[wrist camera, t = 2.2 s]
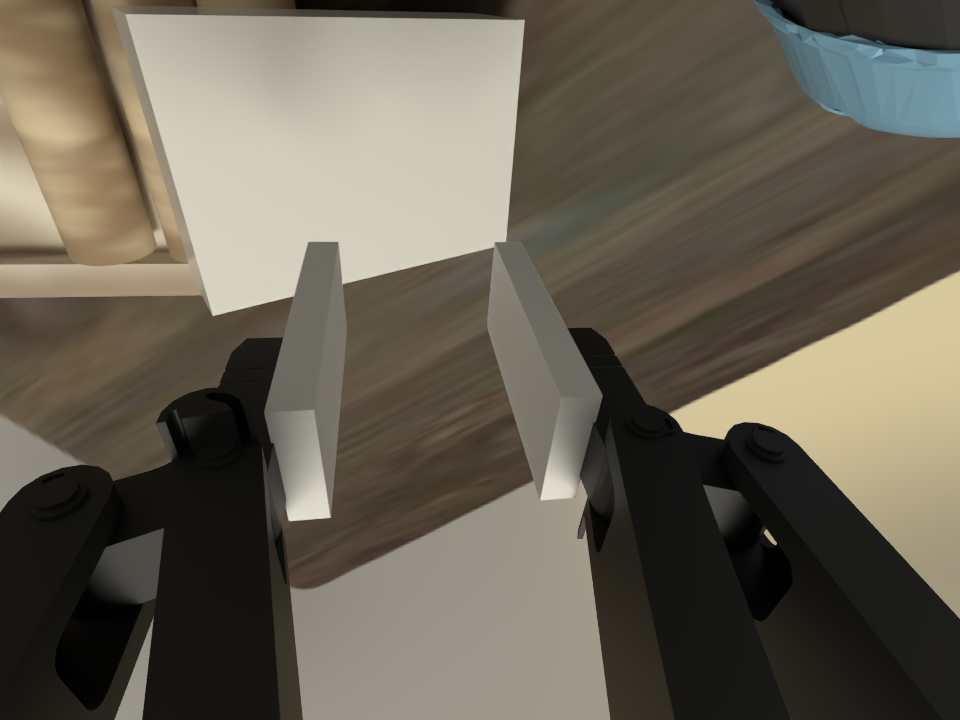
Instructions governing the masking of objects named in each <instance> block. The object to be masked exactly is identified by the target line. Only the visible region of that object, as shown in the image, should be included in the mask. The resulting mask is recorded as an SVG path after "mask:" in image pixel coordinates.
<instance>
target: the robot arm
mask: <svg viewBox="0 0 960 720" xmlns="http://www.w3.org/2000/svg"><path fill="white" fill-rule="evenodd" d="M753 2H754V4H755V5H756V7H757V8H758V10H759V11H760V13H761V14H762V15H763V16H764V17H765V18H766V19H767V20H768V21H769V22H770V23H771V25H772V28H773V30H774V32H775V34H776V36H777V39H778V41H779V43H780V45H781V47H782V50H783V52H784V54H785V57H786V59H787V62H788V64H789V67H790V69H791V72H792V74H793V75H794V77H795V79H796V81H797V82H798V84H799V85H800V87H801V88H802V89H803V90H804V92H805V93H806V94H807V95H808V96H809V97H810V98H811V99H812V100H813V101H814V102H816V103H817V104H818V105H820V106H821V107H823V108H824V109H825V110H827V111H829V112H832V113H836V114H839V115H844V116H850V117H851V118H852V119H853V120H855V121H856V122H857V123H860V124H862V125H863V126H865V127H868V128H871V129H874V130H878V131H884V132H890V133H895V134H902V135H909V136H920V137H937V138H960V0H753ZM487 328H488V332H489V335H490V338H491V342H492V345H493V348H494V351H495V355H496V358H497V361H498V364H499V368H500V371H501V374H502V378H503V381H504V384H505V387H506V391H507V394H508V397H509V400H510V404H511V407H512V410H513V413H514V417H515V420H516V423H517V427H518V430H519V433H520V436H521V440H522V443H523V446H524V449H525V453H526V456H527V459H528V463H529V466H530V469H531V472H532V476H533V479H534V482H535V485H536V489H537V492H538V495H539V499H540V500H551V499H562V498H574V497H576V494H577V490H578V487H579V483H580V479H581V480H582V483H583V485H584V488H585V490H586V493H587V495H588V498H587V501H586V504H585V508H584V511H583V515H582V518H581V522H580V525H579V529H578V537H577V539H583V536H584V533H585V529H586V533H587V541H588V549H589V557H590V565H591V572H592V580H593V588H594V595H595V603H596V611H597V619H598V627H599V634H600V642H601V650H602V658H603V665H604V673H605V681H606V688H607V696H608V704H609V711H610V720H960V619H959V618H958V617H957V616H956V614H955V613H954V612H953V611H952V610H951V609H950V608H949V607H948V606H947V605H946V604H945V603H944V602H943V600H942V599H941V598H940V597H939V596H938V595H937V594H936V593H935V592H934V591H933V590H932V588H930V586H929V585H928V584H927V583H926V582H925V581H924V580H923V579H922V578H921V577H920V576H919V575H918V573H917V572H916V571H915V570H914V569H913V568H912V567H911V566H910V565H909V564H908V563H907V561H906V560H905V559H904V558H903V557H902V556H901V555H900V554H899V553H898V552H897V551H896V550H895V549H894V547H893V546H892V545H891V544H890V543H889V542H888V541H887V540H886V539H885V538H884V537H883V536H882V535H881V533H879V531H878V530H877V529H876V528H875V527H874V526H873V525H872V524H871V523H870V522H869V520H867V518H866V517H865V516H864V515H863V514H862V513H861V512H860V511H859V510H858V509H857V508H856V507H855V505H854V504H853V503H852V502H851V501H850V500H849V499H848V498H847V497H846V496H845V495H844V493H842V491H841V490H840V489H839V488H838V487H837V486H836V485H835V484H834V483H833V482H832V481H831V479H829V477H828V476H827V475H826V474H825V473H824V472H823V471H822V470H821V469H820V468H819V467H818V465H816V463H815V462H814V461H813V460H812V459H811V458H810V457H809V456H808V455H807V454H806V453H805V451H803V449H802V448H801V447H800V446H799V445H798V444H797V443H796V442H794V441H793V440H792V439H791V438H790V437H789V436H787V435H786V434H784V433H782V432H780V431H778V430H776V429H775V428H773V427H769V426H766V425H763V424H759V423H748V422H747V423H746V422H744V423H740V424H737V425H734V426H733V427H732V428H731V429H730V430H729V431H728V433H727V435H726V437H725V439H724V440H723V439H717V438H711V437H706V436H700V435H695V434H690V433H686V432H683V431H682V429H681V427H680V425H679V424H678V422H677V421H676V420H675V419H674V418H673V417H671V416H670V415H669V414H668V413H666V412H665V411H663V410H660V409H658V408H656V407H654V406H650V405H646V403H645V401H644V400H643V398H642V397H641V395H640V393H639V392H638V390H637V388H636V387H635V385H634V384H633V382H632V380H631V379H630V377H629V376H628V374H627V372H626V371H625V369H624V367H622V364H621V363H620V361H619V359H618V358H617V356H615V353H614V351H613V350H612V348H611V346H610V345H609V343H608V342H607V340H606V339H605V338H604V337H602V336H601V335H600V334H598V333H597V332H596V331H594V330H593V329H592V328H567V327H566V325H565V323H564V321H563V319H562V317H561V315H560V314H559V312H558V310H557V308H556V306H555V304H554V302H553V300H552V298H551V297H550V295H549V293H548V291H547V289H546V287H545V285H544V283H543V281H542V280H541V278H540V276H539V274H538V272H537V270H536V268H535V266H534V264H533V263H532V261H531V259H530V257H529V255H528V253H527V251H526V249H525V247H524V245H523V244H522V242H495V243H494V255H493V266H492V277H491V288H490V299H489V310H488V321H487ZM346 335H347V326H346V315H345V305H344V294H343V284H342V273H341V262H340V252H339V242H308V244H307V248H306V252H305V256H304V260H303V264H302V268H301V271H300V275H299V279H298V283H297V287H296V291H295V295H294V299H293V302H292V306H291V310H290V314H289V318H288V322H287V326H286V329H285V333H284V337H283V338H248V339H246V340H245V341H244V342H243V343H242V344H241V345H239V346H238V347H237V348H236V349H235V350H234V351H233V352H232V353H231V355H230V358H229V361H228V363H227V366H226V368H225V370H226V371H225V372H224V374H223V376H222V379H221V381H220V385H219V387H218V388H206V389H202V390H198V391H195V392H191V393H188V394H186V395H184V396H182V397H180V398H178V399H176V400H174V401H173V402H172V403H171V404H169V405H168V406H167V407H166V408H165V409H164V410H163V411H162V412H161V414H160V416H159V418H158V420H157V422H156V424H157V427H158V429H159V432H160V435H161V437H162V440H163V442H164V445H165V447H166V450H167V452H168V455H169V457H170V460H171V462H170V463H168V464H166V465H164V466H162V467H159V468H156V469H153V470H151V471H147V472H144V473H140V474H137V475H133V476H130V477H126V478H123V479H119V480H116V481H113V480H112V478H111V476H110V474H109V473H108V472H107V471H105V470H103V469H102V468H100V467H98V466H88V465H78V466H71V467H65V468H61V469H58V470H55V471H53V472H50V473H47V474H45V475H43V476H40V477H39V478H37V479H35V480H34V481H32V482H31V483H29V484H27V485H26V486H24V487H23V488H21V490H20V491H18V492H17V494H15V496H14V497H13V498H11V500H9V501H8V503H7V504H6V505H5V507H4V508H3V509H2V511H1V512H0V720H114V719H115V717H116V714H117V711H118V708H119V706H120V703H121V700H122V698H123V696H124V693H125V690H126V688H127V685H128V682H129V680H130V677H131V674H132V672H133V669H134V667H135V664H136V661H137V659H138V656H139V653H140V651H141V648H142V646H143V643H144V640H145V638H146V635H147V632H148V629H149V627H150V625H151V622H152V619H153V617H154V621H153V630H152V639H151V649H150V657H149V665H148V674H147V683H146V692H145V701H144V709H143V718H142V720H303V717H302V707H301V697H300V686H299V677H298V666H297V656H296V646H295V635H294V625H293V616H292V604H291V595H290V584H289V574H288V563H287V553H286V543H285V538H284V534H283V530H282V522H283V516H284V510H285V506H286V510H287V514H288V519H289V521H296V520H308V519H320V518H331V507H332V496H333V484H334V473H335V462H336V450H337V439H338V427H339V416H340V404H341V393H342V381H343V370H344V358H345V347H346ZM766 529H767V530H768V531H769V533H770V534H771V535H772V537H773V538H774V540H775V541H776V542H777V545H774V544H772V543H771V542H770V541H769V539H768V538H767V537H766V536H765V534H764V531H765V530H766Z"/></svg>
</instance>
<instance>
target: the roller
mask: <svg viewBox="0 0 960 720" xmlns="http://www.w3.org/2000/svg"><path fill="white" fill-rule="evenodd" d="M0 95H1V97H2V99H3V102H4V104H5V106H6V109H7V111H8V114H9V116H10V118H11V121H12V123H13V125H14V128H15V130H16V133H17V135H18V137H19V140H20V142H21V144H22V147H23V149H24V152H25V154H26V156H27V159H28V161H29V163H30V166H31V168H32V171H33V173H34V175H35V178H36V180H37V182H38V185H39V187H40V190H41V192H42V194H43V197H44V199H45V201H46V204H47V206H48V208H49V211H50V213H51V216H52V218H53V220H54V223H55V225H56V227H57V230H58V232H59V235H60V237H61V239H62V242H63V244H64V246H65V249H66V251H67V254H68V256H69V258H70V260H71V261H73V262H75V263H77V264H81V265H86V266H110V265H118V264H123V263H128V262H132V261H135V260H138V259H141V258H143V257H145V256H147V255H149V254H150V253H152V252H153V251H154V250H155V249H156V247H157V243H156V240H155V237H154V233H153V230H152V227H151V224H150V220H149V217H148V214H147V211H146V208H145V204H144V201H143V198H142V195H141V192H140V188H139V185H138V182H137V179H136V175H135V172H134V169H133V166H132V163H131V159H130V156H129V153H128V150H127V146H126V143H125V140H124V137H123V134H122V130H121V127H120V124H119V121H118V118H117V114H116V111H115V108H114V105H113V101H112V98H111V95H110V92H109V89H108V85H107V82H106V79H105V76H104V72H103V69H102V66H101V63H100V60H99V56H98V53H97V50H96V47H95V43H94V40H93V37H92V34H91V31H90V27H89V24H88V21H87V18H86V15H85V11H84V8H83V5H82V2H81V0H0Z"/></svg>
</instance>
